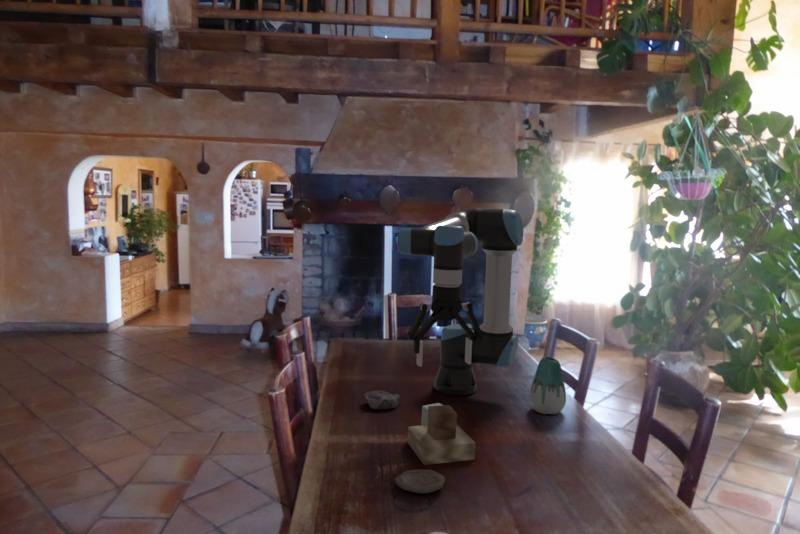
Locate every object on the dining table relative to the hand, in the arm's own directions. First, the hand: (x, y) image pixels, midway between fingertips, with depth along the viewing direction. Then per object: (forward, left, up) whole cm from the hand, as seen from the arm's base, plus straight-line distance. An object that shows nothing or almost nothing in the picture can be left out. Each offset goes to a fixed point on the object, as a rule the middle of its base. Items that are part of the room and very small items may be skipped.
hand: (443, 364), depth 154 cm
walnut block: (0, 0, -19) cm, 19 cm away
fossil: (+11, +18, -24) cm, 32 cm away
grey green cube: (-4, -16, -24) cm, 29 cm away
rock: (+8, -35, -24) cm, 44 cm away
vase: (-44, -22, -24) cm, 55 cm away
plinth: (0, 0, -24) cm, 24 cm away
